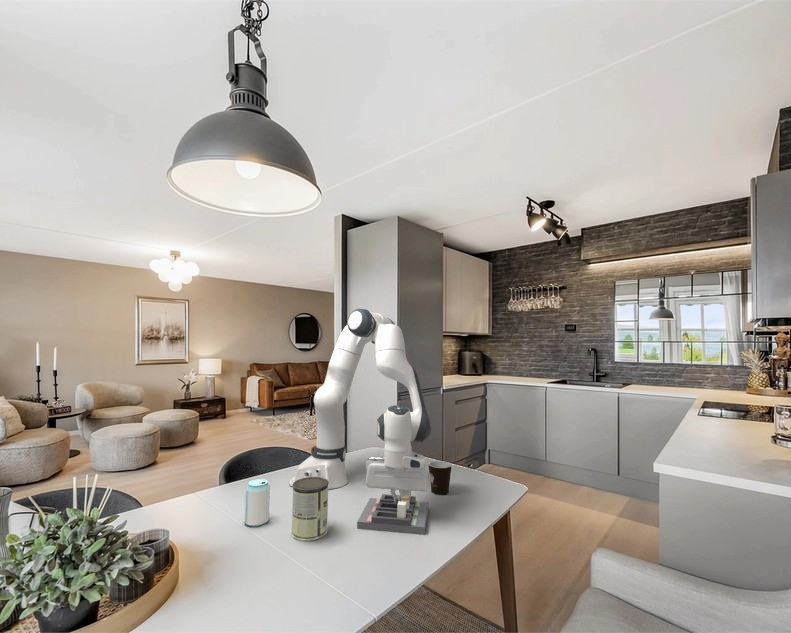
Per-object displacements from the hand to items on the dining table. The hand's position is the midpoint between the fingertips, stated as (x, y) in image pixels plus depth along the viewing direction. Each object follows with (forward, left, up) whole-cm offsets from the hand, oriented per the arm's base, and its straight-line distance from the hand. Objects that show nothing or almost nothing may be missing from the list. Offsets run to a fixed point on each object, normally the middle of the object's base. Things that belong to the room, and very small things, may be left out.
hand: (397, 503), depth 123 cm
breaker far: (+2, +7, -2) cm, 7 cm away
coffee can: (-24, -14, -5) cm, 28 cm away
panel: (-1, 0, -5) cm, 5 cm away
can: (-42, -10, -5) cm, 43 cm away
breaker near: (+2, -6, -2) cm, 7 cm away
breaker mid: (+3, 0, -2) cm, 3 cm away
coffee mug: (+12, +26, -5) cm, 29 cm away
